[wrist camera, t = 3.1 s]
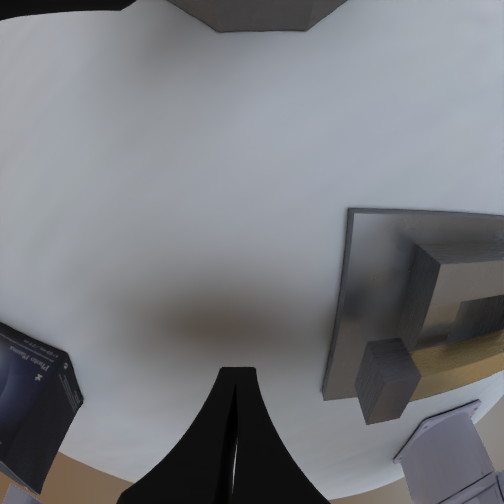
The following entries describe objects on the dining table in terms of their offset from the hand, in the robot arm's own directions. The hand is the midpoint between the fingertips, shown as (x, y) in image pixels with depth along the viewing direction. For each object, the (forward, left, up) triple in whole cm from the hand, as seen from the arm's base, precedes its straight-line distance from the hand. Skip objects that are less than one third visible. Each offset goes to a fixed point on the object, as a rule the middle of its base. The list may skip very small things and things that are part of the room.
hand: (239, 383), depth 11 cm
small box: (-5, +18, -4) cm, 19 cm away
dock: (0, -13, -4) cm, 13 cm away
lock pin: (0, -13, -1) cm, 13 cm away
